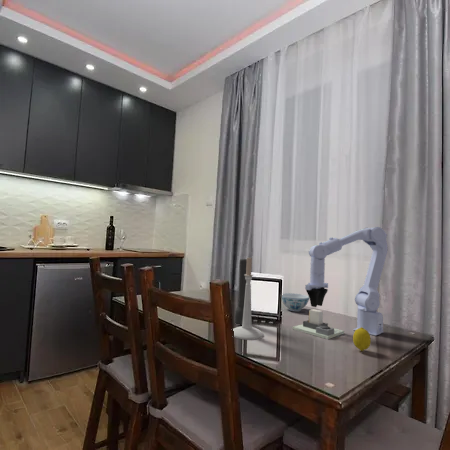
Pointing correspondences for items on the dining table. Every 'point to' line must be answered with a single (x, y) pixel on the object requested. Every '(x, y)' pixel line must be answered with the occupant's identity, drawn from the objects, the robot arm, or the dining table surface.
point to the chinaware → (295, 301)
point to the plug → (316, 317)
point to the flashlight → (241, 292)
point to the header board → (312, 331)
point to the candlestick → (247, 311)
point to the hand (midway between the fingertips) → (316, 306)
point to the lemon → (361, 339)
